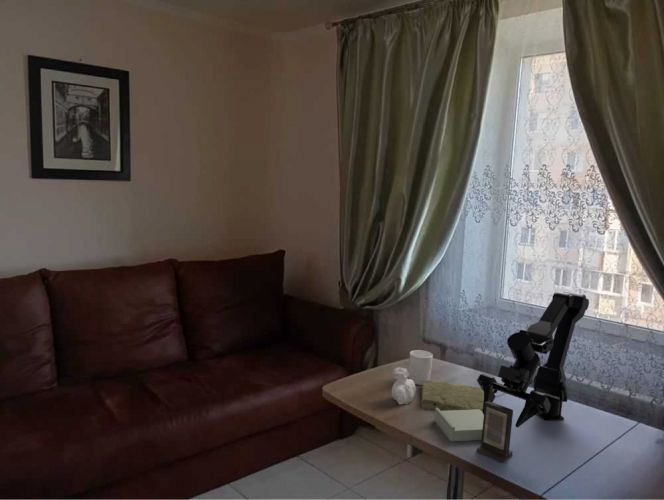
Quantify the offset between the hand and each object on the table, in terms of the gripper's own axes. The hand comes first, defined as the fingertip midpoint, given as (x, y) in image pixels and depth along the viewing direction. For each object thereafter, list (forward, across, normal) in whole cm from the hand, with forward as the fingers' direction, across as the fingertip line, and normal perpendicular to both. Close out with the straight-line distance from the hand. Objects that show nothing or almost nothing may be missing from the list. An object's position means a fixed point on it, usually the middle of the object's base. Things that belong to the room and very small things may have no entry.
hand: (499, 420), depth 137 cm
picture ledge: (+3, -12, +9) cm, 15 cm away
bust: (+2, -36, +11) cm, 38 cm away
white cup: (-10, -42, +23) cm, 48 cm away
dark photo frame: (+7, 0, +6) cm, 9 cm away
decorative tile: (-6, -25, +19) cm, 32 cm away
